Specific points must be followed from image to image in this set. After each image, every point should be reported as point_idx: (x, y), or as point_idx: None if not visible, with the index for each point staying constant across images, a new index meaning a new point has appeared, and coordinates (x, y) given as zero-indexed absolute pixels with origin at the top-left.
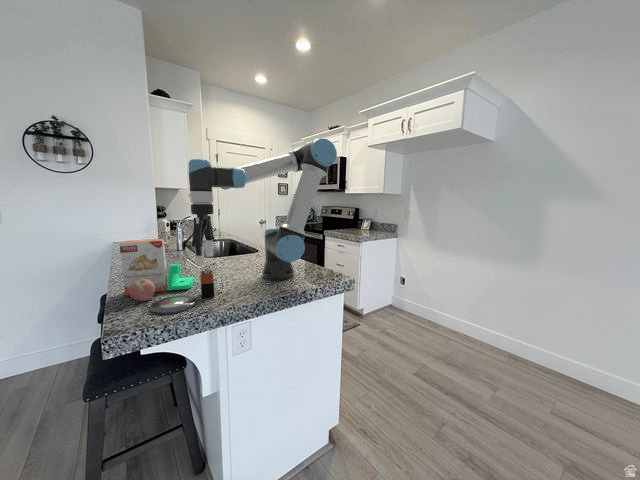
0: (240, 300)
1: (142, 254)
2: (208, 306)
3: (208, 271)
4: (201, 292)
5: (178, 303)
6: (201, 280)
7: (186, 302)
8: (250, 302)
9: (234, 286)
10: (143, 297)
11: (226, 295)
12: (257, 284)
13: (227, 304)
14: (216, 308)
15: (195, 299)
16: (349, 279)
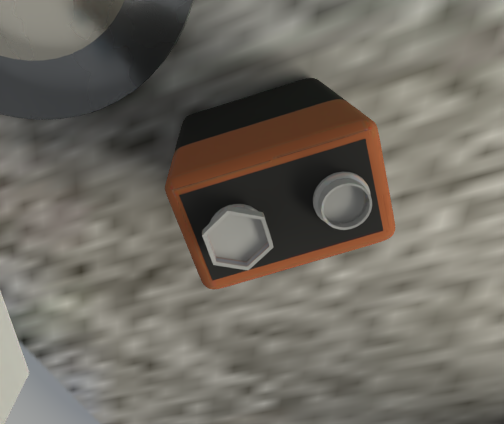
0: (148, 359)
1: None
2: (39, 211)
3: (225, 266)
4: (186, 125)
5: None
6: (169, 170)
7: (19, 56)
8: (117, 411)
9: (426, 266)
10: None
11: None
12: (431, 389)
13: (81, 309)
14: (12, 268)
15: (95, 102)
16: None
